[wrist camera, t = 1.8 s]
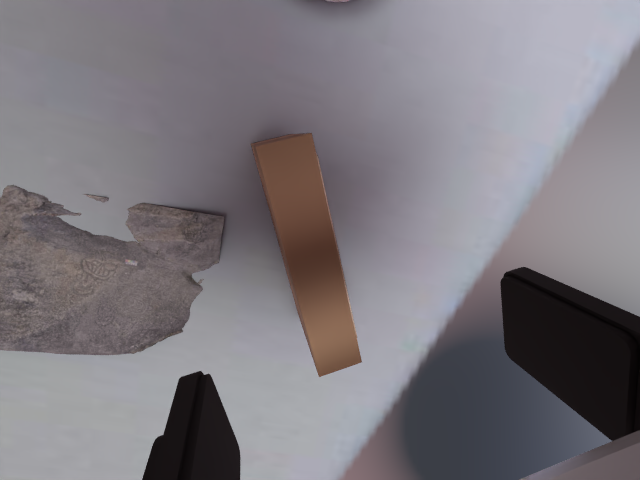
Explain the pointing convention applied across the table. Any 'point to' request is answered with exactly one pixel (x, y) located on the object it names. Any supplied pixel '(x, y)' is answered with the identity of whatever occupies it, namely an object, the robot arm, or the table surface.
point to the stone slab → (98, 277)
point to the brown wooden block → (308, 248)
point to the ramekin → (337, 0)
